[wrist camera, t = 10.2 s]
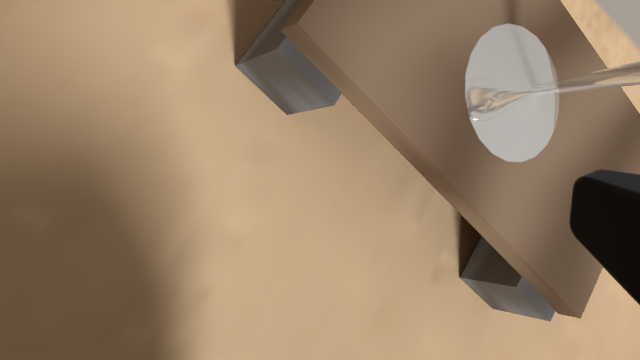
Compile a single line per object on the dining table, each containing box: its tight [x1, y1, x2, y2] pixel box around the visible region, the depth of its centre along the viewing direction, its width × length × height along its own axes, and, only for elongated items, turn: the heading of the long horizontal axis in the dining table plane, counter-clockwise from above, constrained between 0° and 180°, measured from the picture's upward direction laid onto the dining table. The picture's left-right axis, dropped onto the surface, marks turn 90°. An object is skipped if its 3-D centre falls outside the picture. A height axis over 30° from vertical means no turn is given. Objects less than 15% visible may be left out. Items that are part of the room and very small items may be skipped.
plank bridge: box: [236, 0, 640, 321], centre depth 24 cm, size 16×10×4 cm, turn 53°
